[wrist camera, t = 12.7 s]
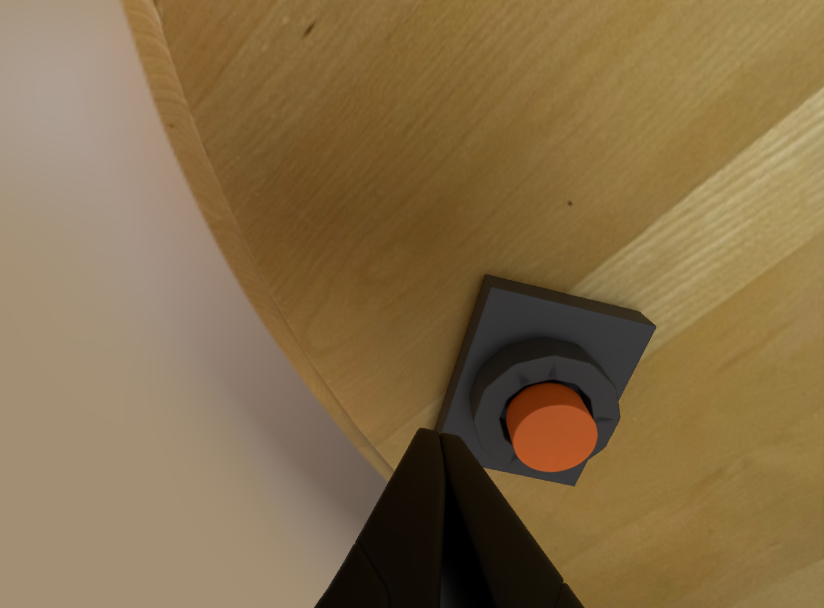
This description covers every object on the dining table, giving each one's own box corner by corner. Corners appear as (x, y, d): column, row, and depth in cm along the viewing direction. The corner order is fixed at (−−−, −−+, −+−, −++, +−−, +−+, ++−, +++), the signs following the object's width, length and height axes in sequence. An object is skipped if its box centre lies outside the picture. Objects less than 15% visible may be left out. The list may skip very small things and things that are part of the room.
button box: (432, 436, 25) (433, 483, 22) (485, 274, 21) (497, 301, 18) (565, 464, 25) (586, 514, 22) (640, 311, 22) (678, 344, 18)
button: (495, 437, 21) (501, 463, 19) (520, 374, 19) (529, 397, 18) (566, 452, 21) (578, 479, 19) (596, 391, 20) (612, 415, 18)
